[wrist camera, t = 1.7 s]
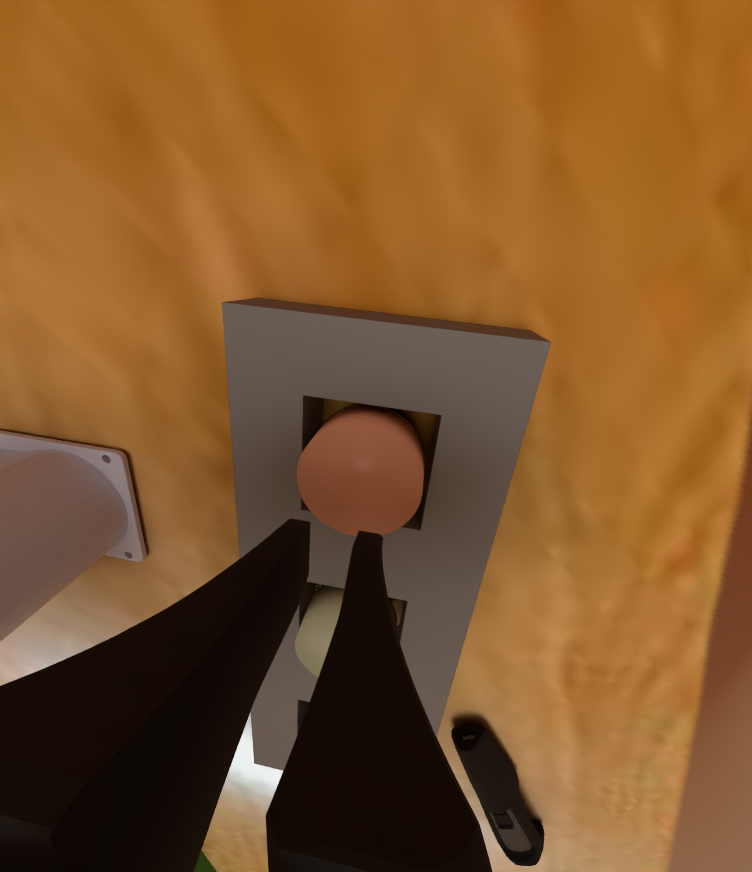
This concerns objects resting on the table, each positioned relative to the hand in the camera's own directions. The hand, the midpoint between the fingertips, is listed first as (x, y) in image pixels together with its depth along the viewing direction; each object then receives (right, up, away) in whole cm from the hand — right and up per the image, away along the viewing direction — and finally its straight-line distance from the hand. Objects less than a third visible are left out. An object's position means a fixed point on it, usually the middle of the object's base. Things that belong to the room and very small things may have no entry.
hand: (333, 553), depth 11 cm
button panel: (0, -6, +12) cm, 13 cm away
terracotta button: (+1, +2, +6) cm, 6 cm away
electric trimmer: (+10, -23, +18) cm, 31 cm away
